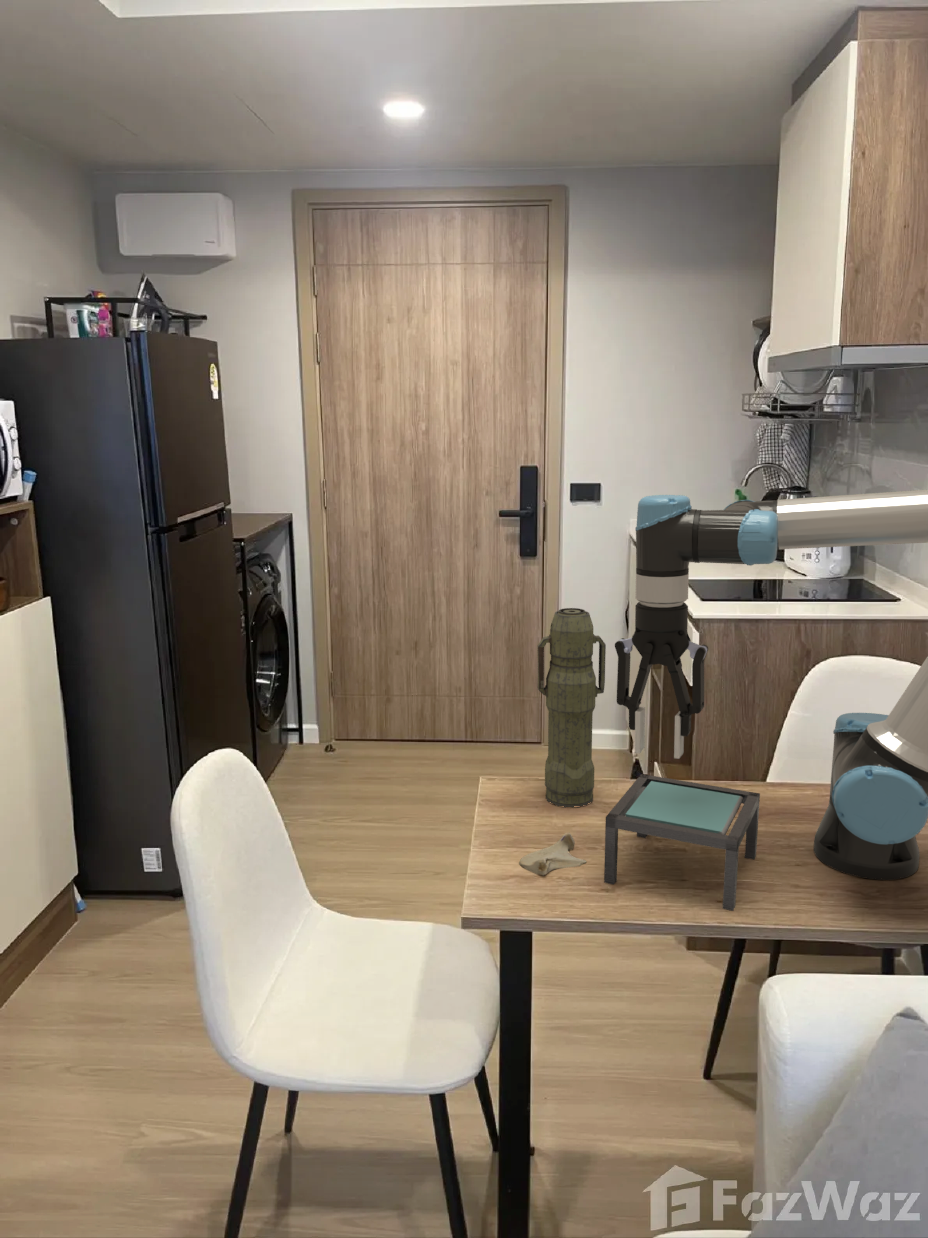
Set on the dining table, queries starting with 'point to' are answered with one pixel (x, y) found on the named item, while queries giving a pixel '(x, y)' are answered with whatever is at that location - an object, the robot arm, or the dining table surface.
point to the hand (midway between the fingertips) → (659, 752)
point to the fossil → (552, 857)
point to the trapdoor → (686, 807)
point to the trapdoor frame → (686, 831)
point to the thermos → (570, 706)
